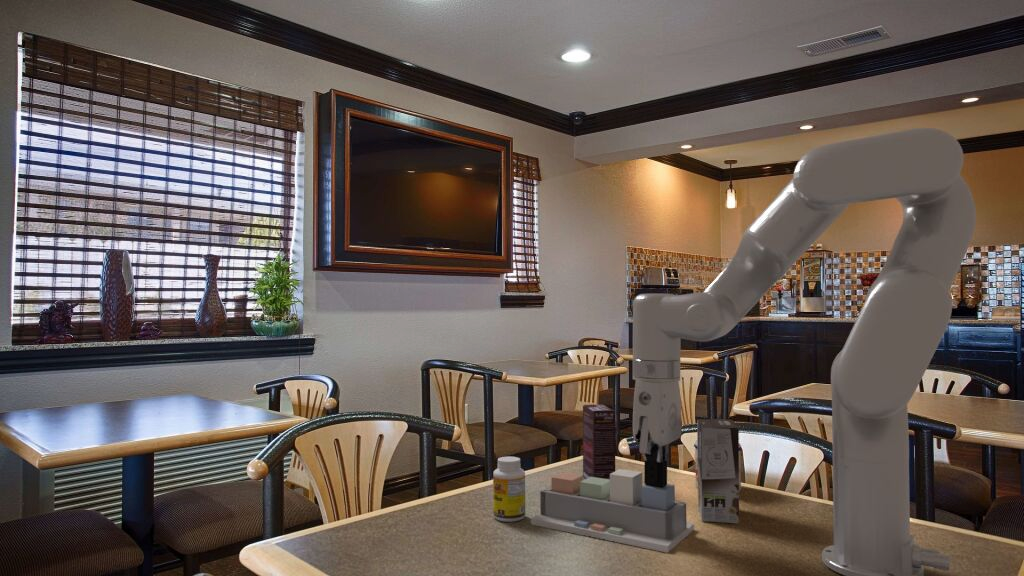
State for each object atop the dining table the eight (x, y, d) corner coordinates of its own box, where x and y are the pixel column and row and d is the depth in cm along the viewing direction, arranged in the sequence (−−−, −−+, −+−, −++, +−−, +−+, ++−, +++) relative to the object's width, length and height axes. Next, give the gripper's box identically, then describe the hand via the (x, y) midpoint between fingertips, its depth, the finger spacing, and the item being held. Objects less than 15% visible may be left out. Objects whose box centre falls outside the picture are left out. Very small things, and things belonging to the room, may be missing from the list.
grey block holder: (694, 529, 111) (693, 499, 111) (667, 552, 101) (667, 519, 101) (565, 506, 124) (565, 478, 125) (530, 524, 114) (530, 494, 114)
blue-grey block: (674, 516, 109) (674, 484, 109) (665, 522, 106) (665, 490, 106) (651, 511, 111) (651, 481, 111) (641, 518, 108) (641, 486, 108)
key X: (642, 502, 112) (642, 472, 112) (632, 508, 109) (632, 477, 109) (620, 498, 114) (619, 468, 114) (610, 504, 111) (609, 474, 111)
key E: (612, 509, 115) (611, 479, 115) (601, 515, 112) (601, 485, 112) (590, 505, 117) (590, 476, 117) (580, 511, 114) (579, 481, 114)
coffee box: (740, 524, 114) (739, 427, 114) (701, 522, 115) (700, 426, 116) (734, 508, 123) (733, 418, 123) (697, 506, 124) (696, 417, 124)
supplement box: (617, 490, 134) (616, 410, 135) (593, 491, 134) (592, 411, 134) (604, 479, 143) (603, 403, 143) (582, 480, 142) (581, 404, 143)
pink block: (583, 504, 118) (582, 475, 118) (572, 510, 115) (572, 480, 115) (562, 500, 120) (562, 472, 120) (551, 506, 117) (551, 477, 117)
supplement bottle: (489, 514, 120) (489, 456, 120) (519, 511, 121) (519, 454, 122) (498, 524, 114) (498, 463, 115) (529, 521, 116) (529, 461, 116)
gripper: (661, 376, 101) (661, 501, 100) (694, 368, 113) (694, 478, 113) (615, 373, 105) (614, 492, 104) (651, 365, 117) (651, 472, 117)
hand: (655, 485), depth 109 cm, fingers closed
